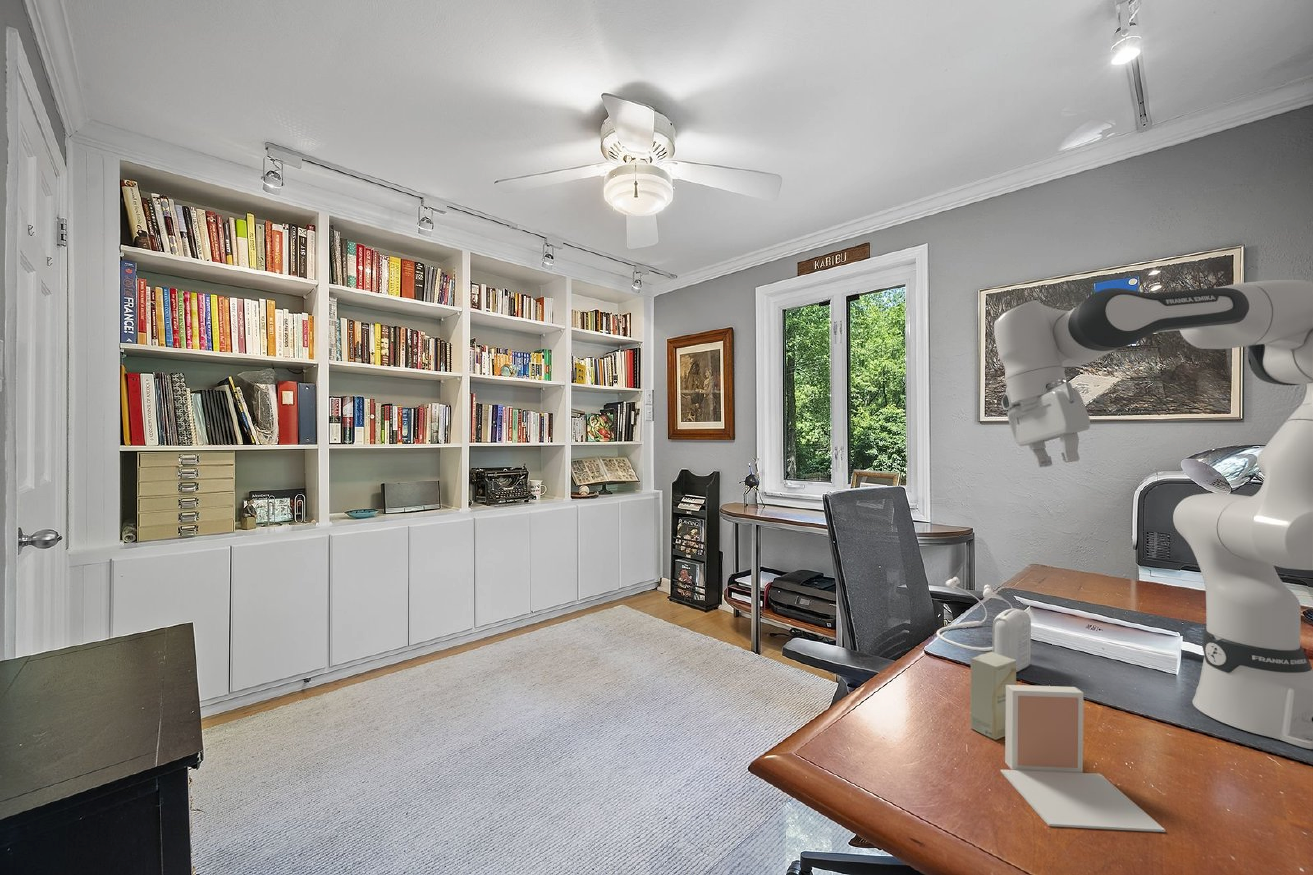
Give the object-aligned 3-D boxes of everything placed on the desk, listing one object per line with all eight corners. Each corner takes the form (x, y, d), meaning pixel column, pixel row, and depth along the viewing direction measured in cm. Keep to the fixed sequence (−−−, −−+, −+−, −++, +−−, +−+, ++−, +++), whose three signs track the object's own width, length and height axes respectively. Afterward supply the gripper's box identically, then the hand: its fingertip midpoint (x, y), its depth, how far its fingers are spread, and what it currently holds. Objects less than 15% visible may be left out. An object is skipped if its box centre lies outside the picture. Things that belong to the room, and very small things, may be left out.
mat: (1100, 775, 79) (1100, 773, 79) (1165, 832, 68) (1165, 829, 68) (1000, 771, 80) (1000, 769, 80) (1048, 826, 69) (1048, 823, 69)
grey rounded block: (1011, 658, 119) (1012, 602, 119) (1033, 665, 115) (1034, 608, 115) (988, 669, 113) (989, 611, 113) (1011, 677, 110) (1011, 617, 110)
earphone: (1032, 621, 131) (1001, 582, 124) (1007, 683, 126) (974, 646, 119) (975, 605, 143) (945, 569, 136) (951, 661, 138) (918, 626, 131)
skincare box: (995, 741, 87) (995, 667, 87) (968, 728, 91) (969, 657, 91) (1017, 731, 90) (1018, 659, 90) (990, 718, 94) (991, 650, 94)
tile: (1074, 765, 81) (1074, 687, 81) (1083, 773, 79) (1084, 693, 79) (1005, 762, 82) (1005, 684, 82) (1012, 770, 80) (1013, 691, 80)
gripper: (1088, 371, 86) (1113, 455, 84) (1032, 397, 106) (1051, 466, 104) (1045, 379, 88) (1068, 461, 85) (997, 403, 107) (1015, 471, 105)
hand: (1058, 464), depth 95 cm, fingers open, 8 cm apart
